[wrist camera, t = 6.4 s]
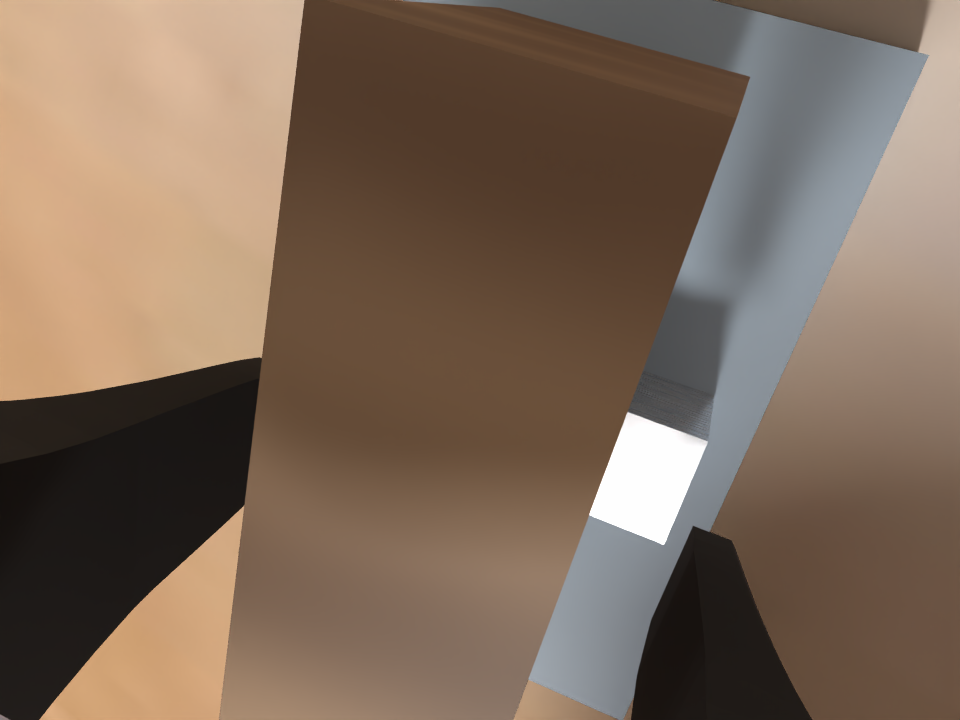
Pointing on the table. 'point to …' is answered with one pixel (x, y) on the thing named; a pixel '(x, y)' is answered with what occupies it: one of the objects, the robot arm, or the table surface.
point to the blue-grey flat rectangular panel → (726, 280)
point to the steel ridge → (654, 457)
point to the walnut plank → (451, 345)
